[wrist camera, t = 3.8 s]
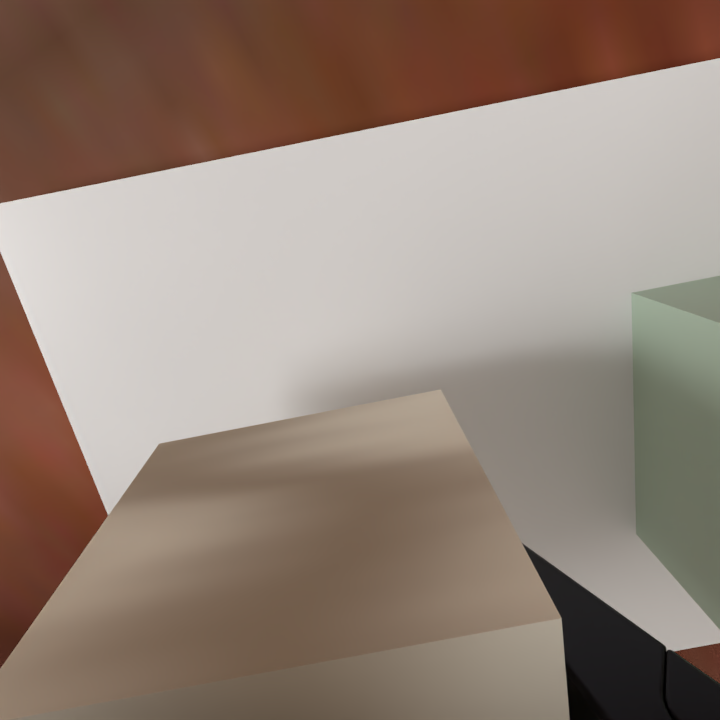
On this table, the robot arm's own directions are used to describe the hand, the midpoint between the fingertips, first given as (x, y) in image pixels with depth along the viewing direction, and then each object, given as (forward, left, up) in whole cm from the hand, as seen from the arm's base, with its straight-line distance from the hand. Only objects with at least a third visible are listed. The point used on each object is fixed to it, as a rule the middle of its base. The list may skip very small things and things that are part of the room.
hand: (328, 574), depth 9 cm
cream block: (0, 0, -1) cm, 1 cm away
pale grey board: (+5, 0, -4) cm, 6 cm away
